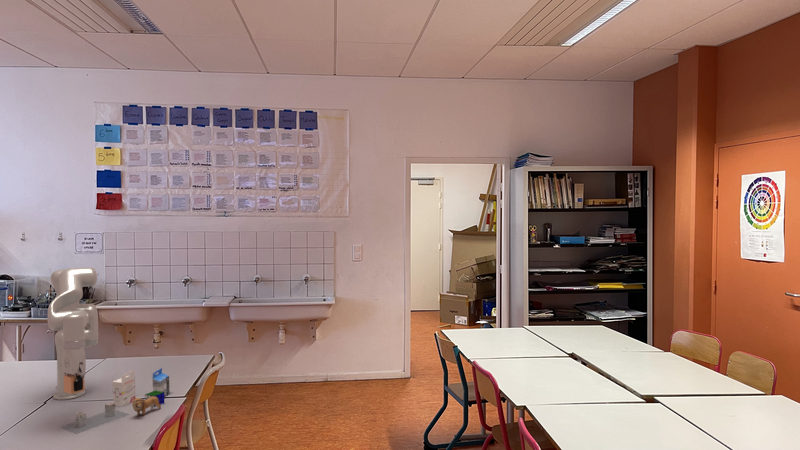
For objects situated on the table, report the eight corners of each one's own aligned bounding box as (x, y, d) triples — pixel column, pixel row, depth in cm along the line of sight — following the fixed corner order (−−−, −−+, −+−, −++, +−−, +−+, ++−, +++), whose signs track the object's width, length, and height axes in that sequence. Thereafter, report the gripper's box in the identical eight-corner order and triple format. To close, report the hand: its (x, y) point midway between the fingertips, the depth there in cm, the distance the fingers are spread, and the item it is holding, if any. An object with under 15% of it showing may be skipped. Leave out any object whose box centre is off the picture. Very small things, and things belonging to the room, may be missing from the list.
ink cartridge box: (126, 400, 234) (126, 368, 234) (135, 401, 233) (135, 369, 233) (112, 407, 226) (112, 374, 225) (122, 408, 225) (121, 375, 224)
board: (59, 429, 202) (59, 427, 202) (113, 410, 222) (113, 409, 222) (76, 435, 197) (76, 433, 197) (130, 416, 216) (130, 414, 216)
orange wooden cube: (63, 391, 204) (63, 375, 204) (77, 388, 209) (77, 372, 209) (70, 394, 202) (70, 377, 202) (84, 390, 206) (84, 374, 206)
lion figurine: (139, 422, 210) (139, 400, 210) (128, 420, 212) (128, 399, 212) (164, 409, 224) (164, 388, 224) (154, 407, 226) (154, 387, 226)
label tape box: (160, 399, 236) (160, 373, 235) (152, 399, 236) (152, 373, 235) (169, 393, 244) (169, 367, 244) (161, 392, 244) (161, 367, 244)
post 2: (105, 416, 214) (105, 404, 214) (111, 414, 216) (111, 402, 216) (108, 417, 213) (108, 405, 213) (114, 415, 215) (114, 403, 215)
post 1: (75, 426, 203) (75, 414, 203) (82, 424, 206) (82, 411, 206) (79, 427, 202) (79, 415, 202) (85, 425, 204) (85, 413, 204)
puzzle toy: (155, 402, 232) (155, 390, 232) (164, 404, 230) (164, 392, 230) (144, 406, 227) (144, 394, 227) (154, 408, 225) (154, 396, 224)
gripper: (52, 343, 206) (53, 388, 206) (75, 349, 198) (76, 395, 198) (72, 340, 213) (72, 383, 213) (95, 344, 204) (95, 390, 204)
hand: (74, 388), depth 205 cm, fingers closed on orange wooden cube, 5 cm apart
